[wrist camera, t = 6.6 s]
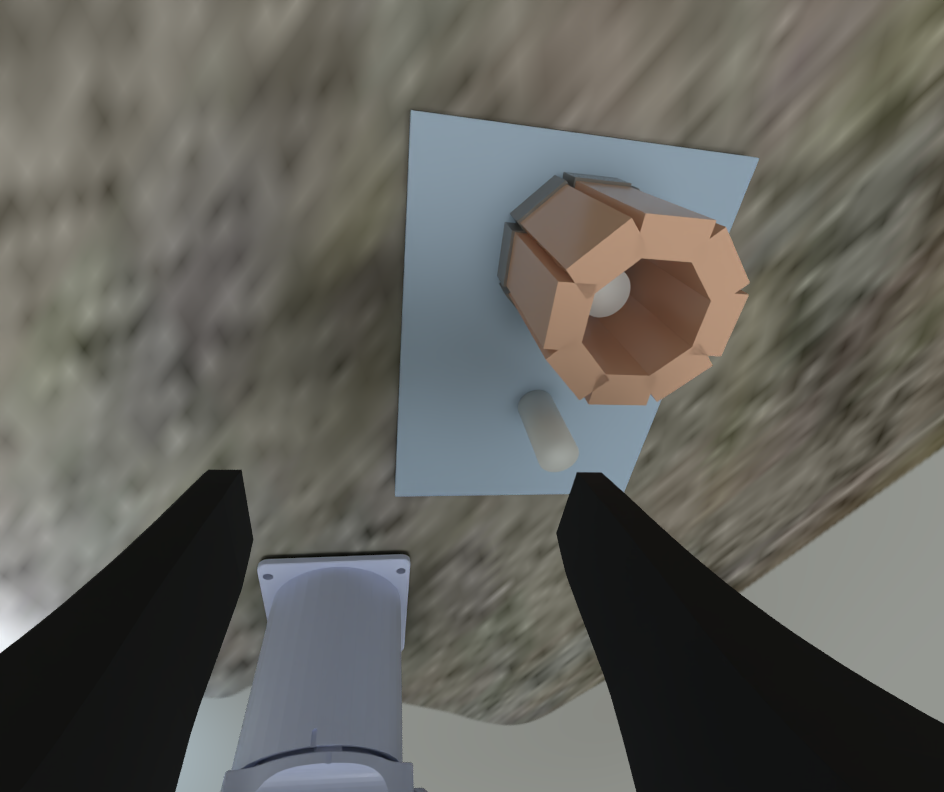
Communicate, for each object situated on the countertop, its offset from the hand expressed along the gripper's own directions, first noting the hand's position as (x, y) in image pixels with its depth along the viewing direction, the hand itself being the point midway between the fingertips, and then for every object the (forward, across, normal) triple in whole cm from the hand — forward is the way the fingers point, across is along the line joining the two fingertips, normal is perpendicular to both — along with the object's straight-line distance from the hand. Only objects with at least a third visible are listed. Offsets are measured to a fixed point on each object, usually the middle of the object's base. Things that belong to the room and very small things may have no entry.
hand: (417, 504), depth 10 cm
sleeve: (+9, -6, -4) cm, 11 cm away
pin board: (+10, -6, +1) cm, 11 cm away
